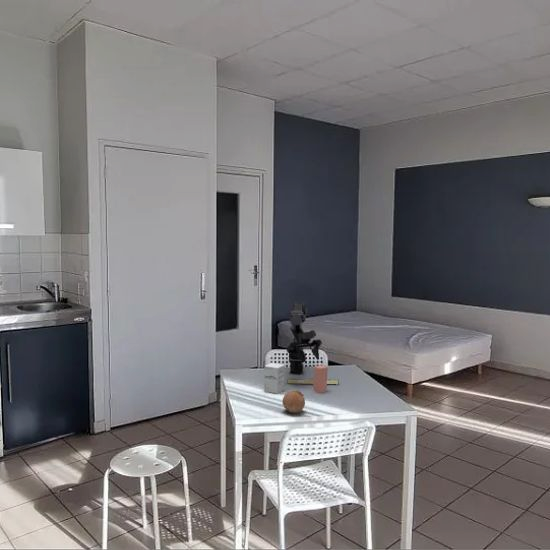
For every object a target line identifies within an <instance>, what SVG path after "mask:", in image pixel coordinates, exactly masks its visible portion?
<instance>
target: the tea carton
mask: <svg viewBox="0 0 550 550" xmlns="http://www.w3.org/2000/svg"><path fill="white" fill-rule="evenodd" d="M328 369H329V367H328V366H325V365H316V366H315V365H314V367H313V379H314V384H313V389H312V390H313V392H314V391H315V393H317V394H322V392H323V393H327V392H328V390H327V389H328V385H327V380H328Z"/></svg>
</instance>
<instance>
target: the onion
mask: <svg viewBox="0 0 550 550" xmlns="http://www.w3.org/2000/svg"><path fill="white" fill-rule="evenodd" d="M282 406H283V407H284V409H285V411H286V412H287V413H289V414H299V413H301V412H302V411H303V409H304V408H305V406H306V399H305V397H304V394H303V393H302V391H300V390H292V391H288V392H287V393H285V394H284V396H283V398H282Z"/></svg>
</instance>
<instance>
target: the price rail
mask: <svg viewBox="0 0 550 550" xmlns="http://www.w3.org/2000/svg"><path fill="white" fill-rule="evenodd" d="M339 381H340V380H339V379H327V384H336V385H337V386H339V384H340V383H339ZM286 384H287V385H288V384H289V385H290V384H294V385H295V384H296V385H314V378H311V379H310V378H286ZM336 385H335V386H336Z"/></svg>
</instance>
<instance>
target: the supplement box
mask: <svg viewBox="0 0 550 550" xmlns="http://www.w3.org/2000/svg"><path fill="white" fill-rule="evenodd" d="M285 367H286V366H285V364H281V363H273V362H270V363H268V364H266V365H264V380H263V383H264V384H263V392H264V391H265V392H267V393H272V394H275V393H276V395H278V394H280V393H281V392H283V391H284V390H285V389H284V386H285ZM279 392H280V393H279Z"/></svg>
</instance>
